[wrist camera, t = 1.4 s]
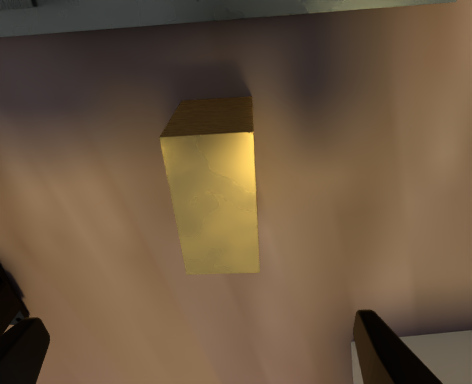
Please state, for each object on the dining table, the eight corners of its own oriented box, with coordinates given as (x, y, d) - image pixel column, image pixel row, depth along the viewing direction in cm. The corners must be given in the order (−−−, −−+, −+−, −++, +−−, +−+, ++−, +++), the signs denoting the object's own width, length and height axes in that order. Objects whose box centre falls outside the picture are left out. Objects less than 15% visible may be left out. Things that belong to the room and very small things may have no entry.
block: (199, 215, 20) (186, 274, 16) (182, 100, 17) (159, 137, 13) (257, 212, 20) (259, 272, 16) (251, 96, 17) (253, 132, 12)
